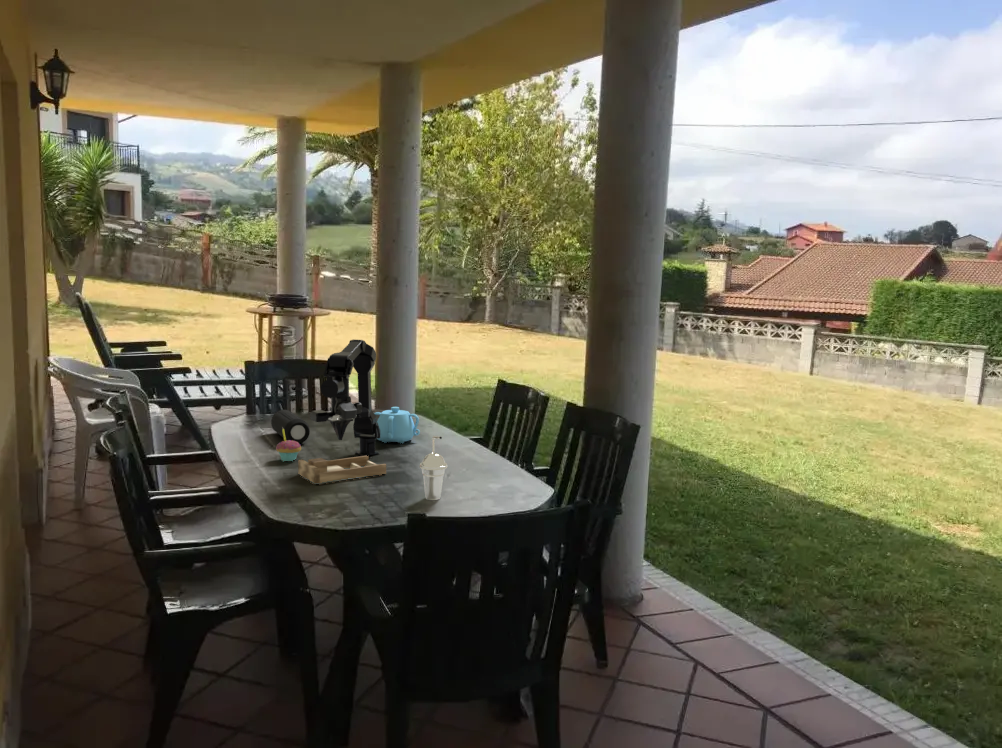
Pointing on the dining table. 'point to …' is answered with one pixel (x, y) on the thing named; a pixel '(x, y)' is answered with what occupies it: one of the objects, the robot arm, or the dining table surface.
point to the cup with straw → (433, 473)
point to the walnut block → (319, 464)
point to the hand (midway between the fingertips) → (340, 439)
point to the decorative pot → (397, 425)
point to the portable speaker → (290, 426)
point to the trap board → (341, 469)
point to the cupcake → (288, 449)
